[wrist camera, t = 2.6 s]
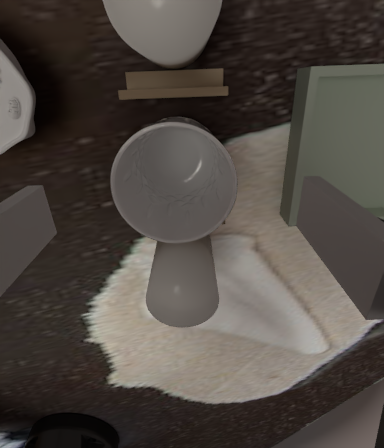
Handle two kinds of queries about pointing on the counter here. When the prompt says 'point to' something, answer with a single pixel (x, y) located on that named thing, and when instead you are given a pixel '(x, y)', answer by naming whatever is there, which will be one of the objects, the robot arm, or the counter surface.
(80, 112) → the counter surface
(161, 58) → the white pillar candle
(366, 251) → the robot arm
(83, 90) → the counter surface
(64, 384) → the counter surface
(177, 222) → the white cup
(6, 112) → the cell model
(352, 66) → the tray
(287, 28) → the counter surface
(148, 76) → the rack
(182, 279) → the grey tapered cylinder
